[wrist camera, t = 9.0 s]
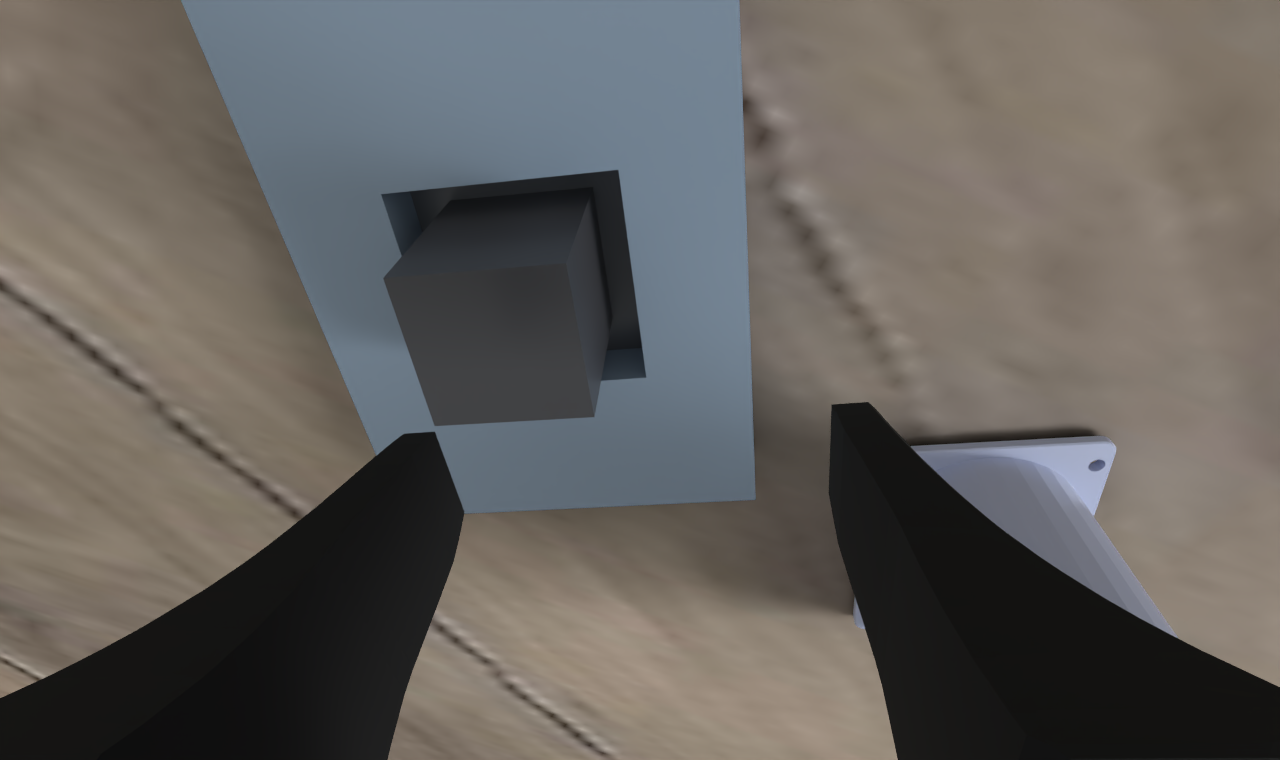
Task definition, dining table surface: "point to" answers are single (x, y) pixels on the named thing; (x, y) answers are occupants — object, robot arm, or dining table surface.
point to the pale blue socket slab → (506, 165)
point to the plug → (507, 308)
